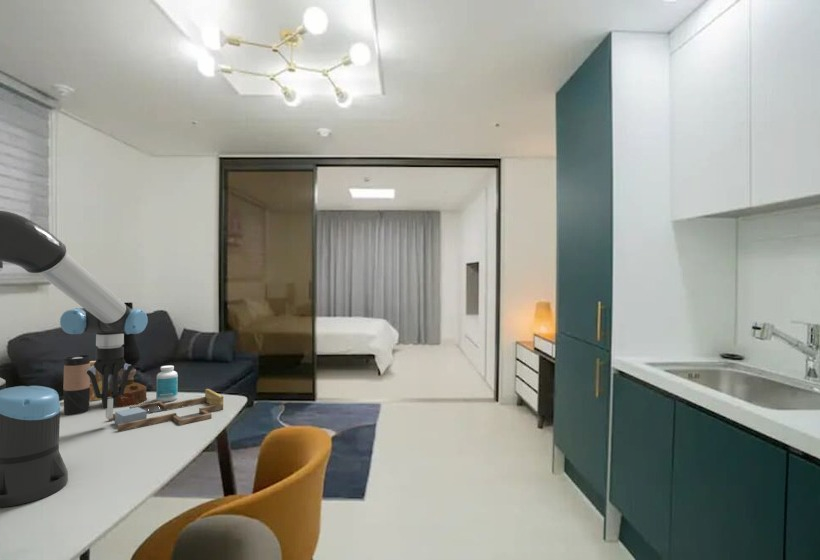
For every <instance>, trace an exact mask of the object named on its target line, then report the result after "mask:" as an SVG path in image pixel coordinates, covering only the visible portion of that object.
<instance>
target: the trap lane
mask: <svg viewBox="0 0 820 560" xmlns="http://www.w3.org/2000/svg"><path fill="white" fill-rule="evenodd" d="M203 402H207V404H208V403H209V405H208V406H202V407H198V412H197V413H195V412H194V413H192V414H186V415H182V416H178V414H177V413H176V412H172V413H168V414H162V415H159V416H154V417H153V416H152V417H148V418H147V417H146V419H142V420H137V421H132V422H127V423H123V424H117V432H118V431H119V432H122V430H124V431H127V429H129V430H132V429H131V428H133V429H136V428H135V427H138V428H141V427H140V426H143V427H146V426H145V425H147V426H150V425H149V424H152V425H155V424H154V423H157V424H160V423H159V422H162V423H164V422H163V421H166V422H169V421H168V420H171V421H173V420H174V421H175V424H177V423H178V424H177V425H179V426H182V424H183V425H187V424H191V423H195V422H196V423H197V422H200V421H205V420H209V419H212V413H213V412H217V411H222V410H224V395H222V394H220V393H217V392H215V391H214V390H212V389H210V388H205V389H204V396H202V397H197V398H191V399H186V400H181V401H175V402H170V403H165V402H161V401H159V402H158V401H154V402H150V403H149V402H148V403H143V404H136V405H131V406H129V409H131V408H136V407H139V408H141V409H143V410H145V411H147V413H150V414H152V413H151V412H155V413H157V412H156V411H160V412H163V411H162V410H165V411H168V410H167V409H170V410H173V409H172V408H175V409H178V408H177V407H180V408H183V407H182V406H185V407H189V406H188V405H191V406H194V404H196V405H199V404H198V403H201V404H204V403H203ZM210 404H211V405H210ZM158 406H159V407H160V409H159V407H158ZM148 409H149V411H148ZM108 420H109V421H108ZM112 420H114V421H115V413H113V418H111V419H107V421H108V422H113V421H112ZM174 421H173V422H174Z"/></svg>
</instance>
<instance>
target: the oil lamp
mask: <svg viewBox="0 0 820 560" xmlns="http://www.w3.org/2000/svg"><path fill="white" fill-rule="evenodd" d="M123 303H124V304H125V305H127V306H128V307H129V308H131V309H134V308H133V307H134V306H133V305H134V304H133V302H123ZM135 335H136V334H124V344H123V345H122V346H123V347H124V360H125V363H127V364H130V365H132V366H133V368H132V370H131V371H130V372H129V376H128V379H127V383H126V386H125V390H124V393H123V394H122V395H119V396H118V397H117V406H116V407H115V408H122V407H123V406H124V407H131V406H135V405H134V404H136V405H140V404H142V402H143V403H144V401H145V402H147V401H148V397H147V386H146V385H144V384H142V383H139V382H134V380H135V378H134V376H135V374H136V372H137V369H136V368H134V367H135V366H136V365H137V364H138V363H139V362H140V361H141V358H142V351H141V348H140V347H139V344H138V342H137V339H136V336H135ZM123 368H124V366H123V367H122V369H121V370H120V371H119V372H118V377H120V380H119V381H120V382H121V378H122V375H123V371H124V369H123ZM119 385H120V383H117V391H118V389H119ZM108 397H112V396H111V387H110V388H108ZM139 403H140V404H139ZM130 405H131V406H130Z"/></svg>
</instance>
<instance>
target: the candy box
mask: <svg viewBox="0 0 820 560" xmlns="http://www.w3.org/2000/svg"><path fill="white" fill-rule="evenodd" d="M95 361H96V360H90V368H92V367H93V366H94V363H95ZM95 372H96V373H95V374H94V375H95V377H96V380H97V384H98V387H99V390H100V394H102V374H100V373H99V372H98V371H97V370H95ZM99 400H101V401H102V399H100V398H97V397H96V396H95V394H94V390H93V387H92V384H91V381H90V398H89V402H92V401H93V402H94V401H99Z"/></svg>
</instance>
